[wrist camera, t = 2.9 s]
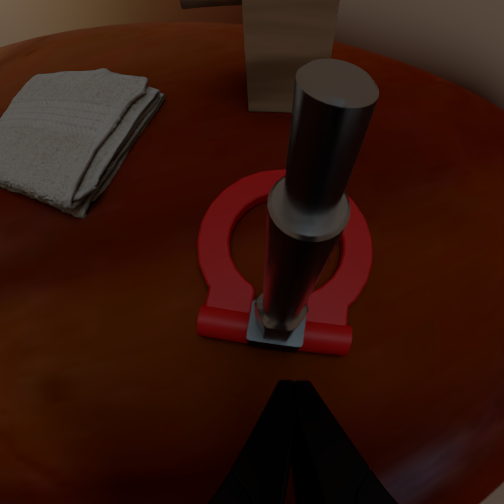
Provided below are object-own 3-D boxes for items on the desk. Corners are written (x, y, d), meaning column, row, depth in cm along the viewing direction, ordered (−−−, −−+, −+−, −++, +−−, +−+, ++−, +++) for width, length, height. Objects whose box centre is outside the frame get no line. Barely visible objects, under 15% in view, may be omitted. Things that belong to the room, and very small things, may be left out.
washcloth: (95, 228, 18) (72, 205, 15) (-27, 183, 21) (-45, 166, 18) (175, 97, 22) (167, 67, 19) (38, 91, 25) (26, 72, 22)
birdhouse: (323, 116, 20) (347, -22, 10) (194, 114, 21) (163, -21, 11) (317, 72, 22) (331, -44, 12) (205, 70, 23) (186, -44, 13)
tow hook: (220, 173, 19) (180, 335, 15) (187, -56, 7) (-36, 139, 3) (365, 193, 19) (360, 361, 15) (449, -19, 6) (620, 234, 2)
